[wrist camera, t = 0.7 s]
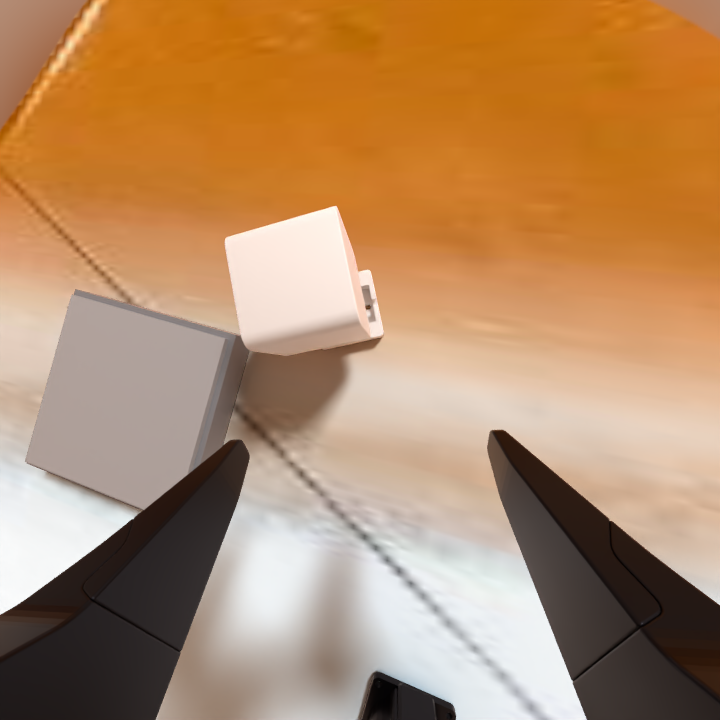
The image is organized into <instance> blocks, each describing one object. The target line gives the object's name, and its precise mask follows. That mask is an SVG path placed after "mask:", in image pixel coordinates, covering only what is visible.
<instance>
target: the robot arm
mask: <svg viewBox="0 0 720 720" xmlns="http://www.w3.org/2000/svg"><path fill="white" fill-rule="evenodd" d="M487 449H488V455H489V459H490V462H491V466H492V470H493V473H494V477H495V481H496V484H497V488H498V492H499V495H500V498H501V501H502V504H503V507H504V509H505V512H506V514H507V517H508V519H509V522H510V524H511V527H512V529H513V532H514V535H515V537H516V540H517V542H518V545H519V547H520V550H521V552H522V555H523V557H524V560H525V563H526V565H527V568H528V570H529V573H530V575H531V578H532V580H533V583H534V585H535V588H536V591H537V593H538V596H539V598H540V601H541V603H542V606H543V608H544V611H545V613H546V616H547V619H548V621H549V624H550V626H551V629H552V631H553V634H554V636H555V639H556V641H557V644H558V647H559V649H560V652H561V654H562V657H563V659H564V662H565V664H566V667H567V669H568V672H569V675H570V677H571V679H572V681H573V685H574V688H575V690H576V693H577V695H578V698H579V700H580V703H581V706H582V708H583V711H584V713H585V716H586V718H587V720H720V605H719V604H717V603H716V602H715V601H713V600H712V599H711V598H709V597H708V596H707V595H705V594H704V593H703V592H701V591H700V590H699V589H697V588H696V587H695V586H693V585H692V584H691V583H689V582H688V581H687V580H685V579H684V578H683V577H681V576H680V575H679V574H677V573H676V572H675V571H673V570H672V569H671V568H669V567H668V566H667V565H666V564H664V563H663V562H662V561H660V560H659V559H658V558H656V557H655V556H654V555H653V554H651V553H650V552H649V551H648V550H646V549H645V548H644V547H643V546H641V545H640V544H639V543H638V542H637V541H635V540H634V539H633V538H632V537H630V536H629V535H628V534H627V533H626V532H624V531H623V530H622V529H621V528H620V527H618V526H617V525H616V524H615V523H614V522H612V521H609V518H608V517H606V516H605V515H604V514H603V513H602V512H601V511H599V510H598V509H597V508H596V507H595V506H593V505H592V504H591V503H590V502H589V501H588V500H586V499H585V498H584V497H583V496H582V495H580V494H579V493H578V492H577V491H576V490H575V489H573V488H572V487H571V486H570V485H569V484H567V483H566V482H565V481H564V480H563V479H562V478H560V477H559V476H558V475H557V474H556V473H554V472H553V471H552V470H551V469H550V468H549V467H547V466H546V465H545V464H544V463H543V462H541V461H540V460H539V459H538V458H537V457H536V456H534V455H533V454H532V453H531V452H530V451H528V450H527V449H526V448H525V447H524V446H522V445H521V444H520V443H519V442H518V441H517V440H515V439H514V438H513V437H512V436H511V435H509V434H508V433H507V432H506V431H504V430H491V431H490V434H489V440H488V446H487ZM249 458H250V456H249V452H248V450H247V448H246V446H245V444H244V443H243V441H242V440H230V441H228V442H227V443H226V444H225V445H223V446H222V447H221V448H220V449H219V450H217V451H216V452H215V453H214V454H212V455H211V456H210V457H209V458H207V459H206V460H205V461H204V462H202V463H201V464H200V465H199V466H197V467H196V468H195V469H194V470H193V471H191V472H190V473H189V474H188V475H186V476H185V477H184V478H183V479H181V480H180V481H179V482H178V483H176V484H175V485H174V486H173V487H172V488H170V489H169V490H168V491H167V492H165V493H164V494H163V495H162V496H160V497H159V498H158V499H157V500H155V501H154V502H153V503H152V504H151V505H149V506H148V507H147V508H146V509H144V510H143V511H142V512H141V513H139V514H138V515H137V516H136V517H135V518H134V519H132V520H131V521H129V522H128V523H127V524H126V525H124V526H123V527H122V528H121V529H120V530H118V531H117V532H116V533H114V534H113V535H112V536H111V537H109V538H108V539H107V540H106V541H104V542H103V543H102V544H100V545H99V546H98V547H96V548H95V549H94V550H92V551H91V552H90V553H88V554H87V555H86V556H84V557H83V558H82V559H80V560H79V561H78V562H76V563H75V564H74V565H72V566H71V567H69V568H68V569H67V570H65V571H64V572H63V573H61V574H60V575H59V576H57V577H56V578H54V579H53V580H52V581H50V582H49V583H48V584H46V585H45V586H43V587H42V588H41V589H39V590H38V591H37V592H35V593H34V594H33V595H31V596H30V597H28V598H27V599H26V600H24V601H23V602H21V603H20V604H18V605H17V606H15V607H13V608H12V609H10V610H8V611H6V612H5V613H3V614H1V615H0V720H156V717H157V714H158V712H159V709H160V706H161V704H162V701H163V698H164V696H165V693H166V690H167V688H168V685H169V683H170V680H171V677H172V675H173V672H174V669H175V667H176V664H177V661H178V659H179V656H180V651H181V650H182V648H183V645H184V642H185V640H186V637H187V634H188V632H189V629H190V627H191V624H192V621H193V619H194V616H195V613H196V611H197V608H198V605H199V603H200V600H201V597H202V595H203V592H204V590H205V587H206V584H207V582H208V579H209V576H210V574H211V571H212V568H213V566H214V563H215V560H216V558H217V555H218V552H219V550H220V547H221V545H222V542H223V539H224V537H225V534H226V531H227V529H228V526H229V523H230V521H231V518H232V515H233V513H234V510H235V508H236V505H237V502H238V499H239V496H240V492H241V489H242V485H243V481H244V478H245V474H246V470H247V467H248V463H249ZM378 681H380V682H378ZM448 712H450V713H448ZM361 720H456V713H455V709H454V706H453V705H452V704H451V703H449V702H446V701H444V700H442V699H440V698H437V697H435V696H433V695H431V694H428V693H426V692H424V691H422V690H419V689H417V688H415V687H412V686H410V685H408V684H406V683H403V682H401V681H399V680H397V679H394V678H392V677H390V676H388V675H385V674H383V673H381V672H376V673H374V675H373V678H372V681H371V685H370V688H369V692H368V695H367V699H366V703H365V706H364V710H363V713H362V717H361Z"/></svg>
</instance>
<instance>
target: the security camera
mask: <svg viewBox="0 0 720 720" xmlns="http://www.w3.org/2000/svg"><path fill="white" fill-rule="evenodd" d="M225 249H226V255H227V260H228V266H229V272H230V277H231V283H232V289H233V294H234V300H235V306H236V312H237V317H238V323H239V329H240V334H241V338H242V341H243V343H244V345H245V347H246V348H247V349H248V350H250V351H254V352H261V353H269V354H276V355H284V356H290V355H294V354H299V353H303V352H308V351H312V350H317V349H324V350H327V349H332V348H336V347H341V346H345V345H350V344H354V343H359V342H363V341H368V340H372V339H377V338H381V337H383V336H384V331H383V326H382V322H381V317H380V312H379V307H378V303H377V298H376V293H375V288H374V284H373V279H372V275H371V272H370V270H364V271H360V272H358V270H357V265H356V260H355V256H354V253H353V249H352V247H351V244H350V241H349V238H348V236H347V233H346V230H345V227H344V225H343V222H342V219H341V216H340V214H339V211H338V208H337V207H336V206H333V207H330V208H326V209H323V210H319V211H316V212H313V213H309V214H306V215H302V216H299V217H295V218H292V219H288V220H285V221H281V222H278V223H274V224H271V225H267V226H264V227H260V228H257V229H254V230H250V231H247V232H243V233H240V234H236V235H233V236H229V237H227V238H226V239H225ZM368 305H370V306H371V308H370V309H367V310H366V308H365V306H368Z"/></svg>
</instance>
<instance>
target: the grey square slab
mask: <svg viewBox="0 0 720 720" xmlns="http://www.w3.org/2000/svg"><path fill="white" fill-rule="evenodd" d="M248 353H249V350H248V349H247V348H246V347H245V345H244V343H243V341H242V338H241V335H238V334H235V333H231V332H228V331H224V330H220V329H217V328H213V327H210V326H206V325H203V324H199V323H196V322H192V321H189V320H185V319H182V318H178V317H175V316H171V315H168V314H164V313H161V312H157V311H153V310H150V309H146V308H143V307H139V306H136V305H132V304H129V303H125V302H122V301H118V300H115V299H111V298H108V297H104V296H100V295H96V294H92V293H88V292H84V291H80V290H76V289H75V293H74V295H71V299H70V302H69V306H68V310H67V313H66V317H65V320H64V324H63V327H62V331H61V335H60V338H59V342H58V345H57V349H56V352H55V356H54V360H53V363H52V367H51V370H50V374H49V377H48V381H47V384H46V388H45V392H44V395H43V399H42V402H41V406H40V409H39V413H38V417H37V420H36V424H35V427H34V431H33V434H32V438H31V442H30V445H29V449H28V452H27V456H26V459H25V462H27V464H30V465H32V466H35V467H37V468H40V469H42V470H45V471H47V472H49V473H52V474H54V475H57V476H59V477H62V478H64V479H67V480H69V481H72V482H74V483H77V484H79V485H81V486H84V487H86V488H89V489H91V490H94V491H96V492H99V493H101V494H104V495H106V496H108V497H111V498H113V499H116V500H118V501H121V502H123V503H126V504H128V505H131V506H133V507H136V508H138V509H140V510H144V509H146V508H147V507H148V506H149V505H151V504H152V503H153V502H154V501H155V500H157V499H158V498H159V497H160V496H162V495H163V494H164V493H165V492H167V491H168V490H169V489H170V488H172V487H173V486H174V485H175V484H176V483H178V482H179V481H180V480H181V479H183V478H184V477H185V476H186V475H188V474H189V473H190V472H191V471H193V470H194V469H195V468H196V467H197V466H199V465H200V464H201V463H202V462H204V461H205V460H206V459H207V458H209V457H210V456H211V455H212V454H214V453H215V452H216V451H217V450H219V449H220V448H221V447H222V446H223V443H224V439H225V436H226V432H227V428H228V425H229V421H230V418H231V414H232V411H233V407H234V403H235V400H236V396H237V393H238V389H239V385H240V382H241V378H242V375H243V371H244V368H245V364H246V360H247V357H248Z"/></svg>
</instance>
